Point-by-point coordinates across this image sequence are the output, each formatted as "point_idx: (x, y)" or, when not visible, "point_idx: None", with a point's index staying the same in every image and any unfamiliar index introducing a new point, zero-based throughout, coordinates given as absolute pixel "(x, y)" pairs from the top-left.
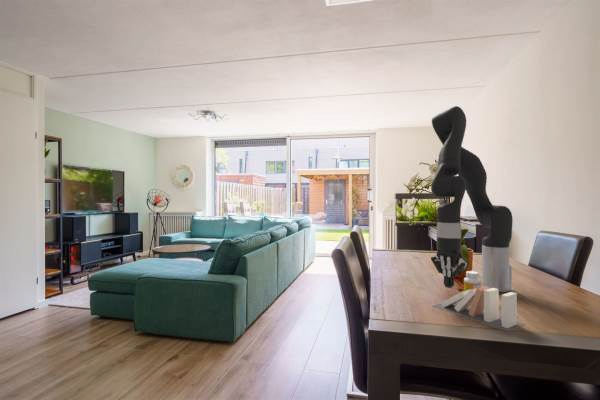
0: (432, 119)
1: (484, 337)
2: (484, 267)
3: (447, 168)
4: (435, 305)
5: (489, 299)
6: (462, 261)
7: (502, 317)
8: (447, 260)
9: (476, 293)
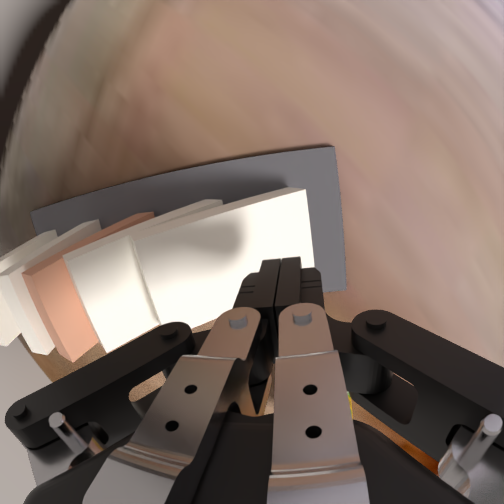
0: None
1: (27, 114)
2: None
3: None
4: (334, 170)
5: (20, 260)
6: (32, 461)
7: (33, 242)
8: (160, 477)
9: (51, 261)
